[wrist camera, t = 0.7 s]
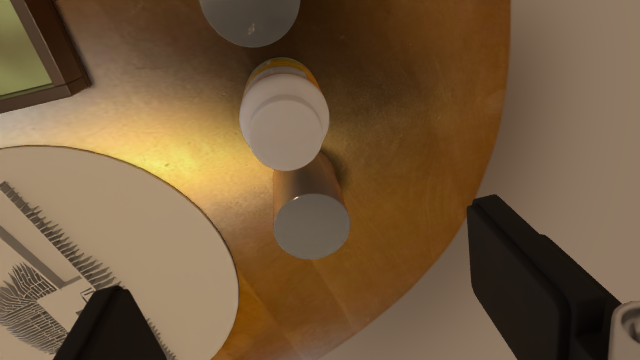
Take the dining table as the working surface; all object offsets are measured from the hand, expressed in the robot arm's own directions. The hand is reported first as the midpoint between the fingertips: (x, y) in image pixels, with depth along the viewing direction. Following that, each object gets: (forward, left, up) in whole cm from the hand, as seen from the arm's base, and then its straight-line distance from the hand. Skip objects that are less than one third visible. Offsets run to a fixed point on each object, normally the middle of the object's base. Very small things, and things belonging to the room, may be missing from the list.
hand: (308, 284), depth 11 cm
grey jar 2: (+7, 0, -21) cm, 22 cm away
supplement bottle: (0, 0, -22) cm, 22 cm away
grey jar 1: (-7, 0, -21) cm, 22 cm away
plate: (+13, -22, -22) cm, 34 cm away
